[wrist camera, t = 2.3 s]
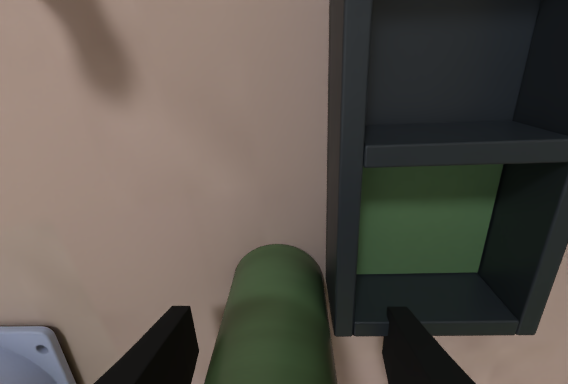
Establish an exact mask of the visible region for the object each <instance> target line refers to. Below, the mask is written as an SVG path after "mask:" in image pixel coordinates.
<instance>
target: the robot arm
mask: <svg viewBox="0 0 568 384" xmlns="http://www.w3.org/2000/svg"><path fill="white" fill-rule="evenodd" d="M386 315H387V318H388V321H389V329H388V336H384V341H383V350H382V354H383V359H384V364H385V369H386V374H387V379H388V383H389V384H476V383H475V382H474V381H473V380H472V379H471V378H470V377H469V376H468V375H467V374H466V373H465V372H464V371H463V370H462V369H461V368H460V367H459V366H458V364H457V363H456V362H455V361H454V360H453V359H452V358H451V357H450V356H449V355H448V354H447V352H446V351H445V350H444V349H443V348H442V347H441V346H440V345H439V343H438V342H437V341H436V340H435V339H434V338H433V337H432V335H431V334H430V333H429V332H428V331H427V330H426V328H425V327H424V326H423V325H422V324H421V322H420V321H419V320H418V319H417V318H416V316H415V315H414V314H413V313H412V312H411V310H410V309H409V308H408V307H389V306H387V314H386ZM198 353H199V348H198V343H197V338H196V333H195V328H194V323H193V318H192V313H191V308H190V306H172V307H171V308H170V309H169V310H168V311H167V312H166V313H165V314H164V315H163V316H162V317H161V318H160V319H159V320H158V321H157V322H156V323H155V324H154V325H153V326H152V327H151V328H150V329H149V330H148V331H147V332H146V333H145V334H144V335H143V337H142V338H141V339H140V340H139V341H138V342H137V343H136V344H135V345H134V346H133V347H132V348H131V349H130V350H129V351H128V352H127V353H126V354H125V355H124V356H123V357H122V358H121V359H120V360H119V361H117V362H116V363H115V364H114V365H113V366H112V367H111V368H110V369H109V370H108V371H107V372H106V373H105V374H104V375H103V376H101V377H100V378H99V379H98V380H97V381H96V382H95V383H94V384H191V382H192V378H193V374H194V370H195V366H196V362H197V357H198ZM0 384H76V382H75V380H74V377H73V375H72V373H71V370H70V368H69V366H68V363H67V361H66V359H65V356H64V354H63V352H62V349H61V347H60V345H59V342H58V340H57V338H56V335H55V333H54V332H53V330H51V329H50V328H48V327H45V326H0Z"/></svg>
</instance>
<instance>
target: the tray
mask: <svg viewBox="0 0 568 384" xmlns="http://www.w3.org/2000/svg"><path fill="white" fill-rule="evenodd" d="M567 244H568V0H329V71H328V143H327V214H326V284H327V291H328V298H329V304H330V311H331V318H332V324H333V331H334V335H335V336H336V337H344V336H352V335H354V336H388V329H389V321H388V318H387V315H386V314H387V306H389V307H408V308H409V309H410V310H411V312H412V313H413V314H414V315H415V316H416V318H417V319H418V320H419V321H420V322H421V324H422V325H423V326H424V327H425V328H426V330H427V331H428V332H429V333H430V334H431V335H432V336H473V335H515V334H516V335H534V334H535V333H536V330H537V328H538V325H539V322H540V319H541V316H542V314H543V311H544V308H545V305H546V303H547V300H548V297H549V294H550V291H551V289H552V286H553V283H554V280H555V277H556V275H557V272H558V269H559V266H560V263H561V261H562V258H563V255H564V252H565V249H566V247H567Z"/></svg>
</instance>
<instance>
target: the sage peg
mask: <svg viewBox="0 0 568 384" xmlns="http://www.w3.org/2000/svg"><path fill="white" fill-rule="evenodd" d="M204 384H337V378H336V370H335V363H334V356H333V348H332V341H331V334H330V327H329V319H328V312H327V305H326V297H325V290H324V283H323V276H322V272H321V270H320V267H319V266H318V264H317V263H316V261H315V260H314V259H313V258H312V257H311V256H310V255H308V254H307V253H306V252H304V251H302V250H300V249H298V248H296V247H293V246H289V245H283V244H272V245H266V246H262V247H259V248H257V249H255V250H253V251H251V252H250V253H248V254H247V255H246V256H244V258H243V259H242V260H241V261H240V262H239V264H238V266H237V268H236V271H235V274H234V278H233V281H232V285H231V289H230V292H229V296H228V299H227V303H226V307H225V310H224V314H223V317H222V321H221V325H220V328H219V332H218V336H217V339H216V343H215V346H214V350H213V354H212V357H211V361H210V364H209V368H208V372H207V375H206V379H205V383H204Z"/></svg>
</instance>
